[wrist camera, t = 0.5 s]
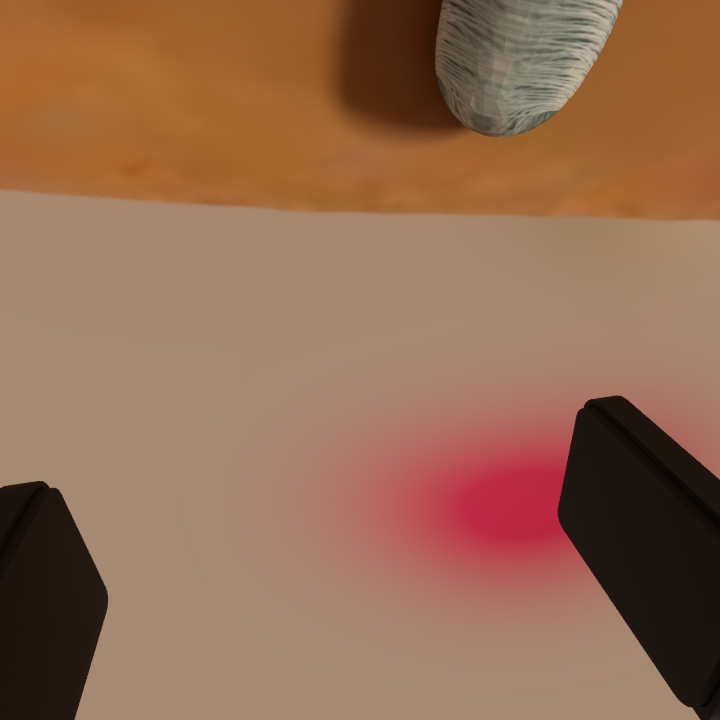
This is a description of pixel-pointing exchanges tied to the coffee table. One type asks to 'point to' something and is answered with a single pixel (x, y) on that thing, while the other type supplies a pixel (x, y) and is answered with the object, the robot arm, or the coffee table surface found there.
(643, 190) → the coffee table surface
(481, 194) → the coffee table surface
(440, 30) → the streaked grey egg
